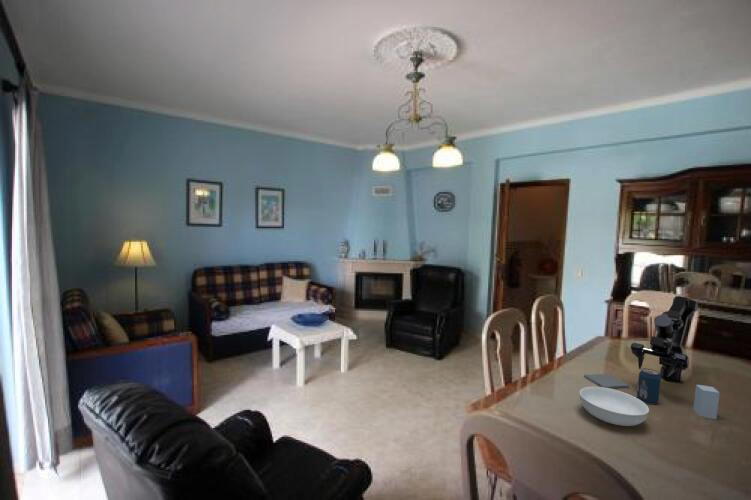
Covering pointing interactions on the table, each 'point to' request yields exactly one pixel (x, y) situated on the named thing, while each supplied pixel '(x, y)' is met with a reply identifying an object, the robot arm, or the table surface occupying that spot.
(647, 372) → the soda can
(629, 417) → the serving bowl
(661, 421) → the table surface
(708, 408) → the gray block
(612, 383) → the mat
